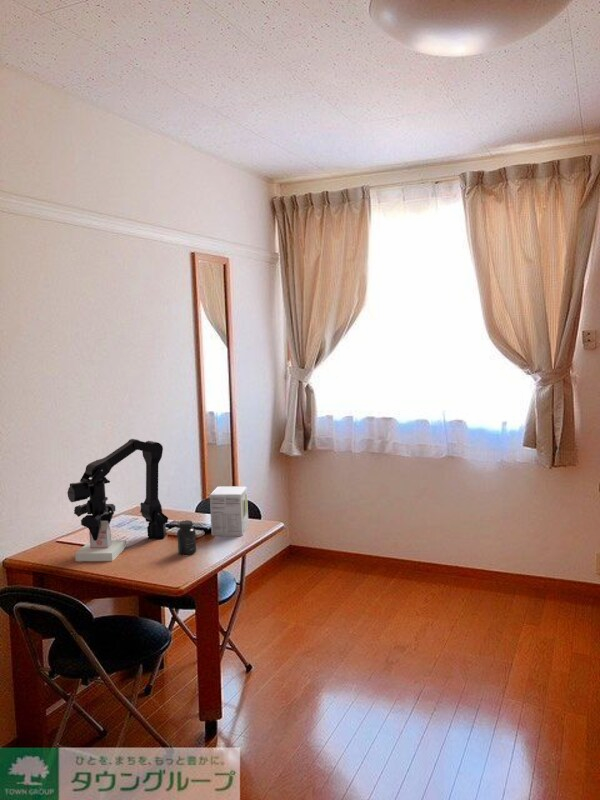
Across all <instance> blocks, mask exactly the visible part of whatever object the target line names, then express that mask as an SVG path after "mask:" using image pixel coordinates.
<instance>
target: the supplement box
mask: <svg viewBox="0 0 600 800" xmlns="http://www.w3.org/2000/svg"><path fill="white" fill-rule="evenodd" d="M209 505H210V507H209V508H210V526H211V528H210V530H211V536H212V537H213V536H218V537H219V536H220V537H221V536H224V537H225V536H226V537H227V536H229V537H231V536H233V537H242V536H243V535H244V533H246V531H247V529H248V527H249V509H248V506H249V505H248V487H247V486H246V485H245V486H236V485H235V486H231V485H230V486H227V485H226V486H222V485H221V486H216V488H214V490H213V491H212V492H211V493H210V494H209Z"/></svg>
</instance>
